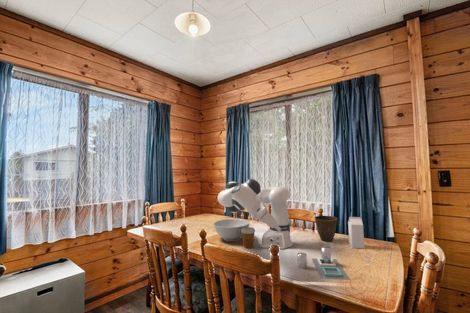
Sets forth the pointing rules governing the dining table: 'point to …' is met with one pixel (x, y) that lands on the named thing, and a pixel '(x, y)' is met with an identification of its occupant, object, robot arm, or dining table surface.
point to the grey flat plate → (330, 270)
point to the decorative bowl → (230, 228)
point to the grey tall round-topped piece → (326, 255)
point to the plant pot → (326, 227)
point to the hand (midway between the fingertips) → (277, 227)
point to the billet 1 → (302, 260)
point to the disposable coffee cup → (248, 237)
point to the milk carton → (356, 232)
